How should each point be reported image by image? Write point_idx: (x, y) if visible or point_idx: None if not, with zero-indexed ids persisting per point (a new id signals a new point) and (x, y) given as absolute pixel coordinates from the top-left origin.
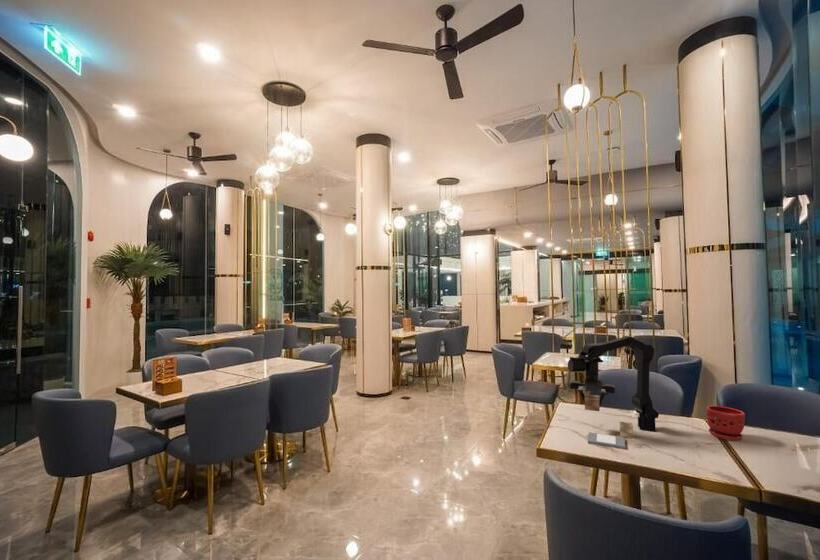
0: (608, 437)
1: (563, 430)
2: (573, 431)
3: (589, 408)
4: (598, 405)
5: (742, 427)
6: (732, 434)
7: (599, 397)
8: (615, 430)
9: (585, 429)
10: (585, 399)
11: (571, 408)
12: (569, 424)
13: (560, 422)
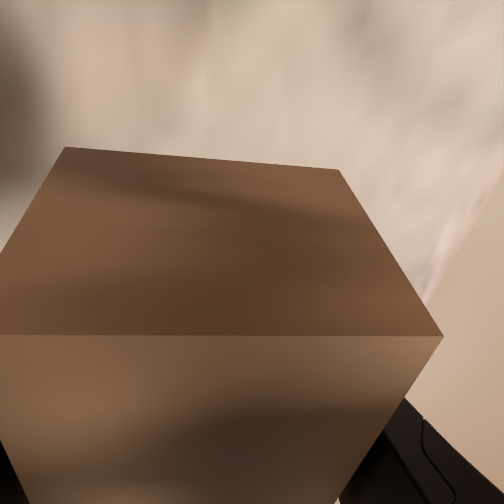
0: None
1: (481, 29)
2: (386, 34)
3: (260, 177)
4: (43, 216)
5: None
6: None
7: None
8: (3, 205)
9: (260, 138)
10: (410, 315)
11: None
12: (373, 211)
13: (432, 229)
